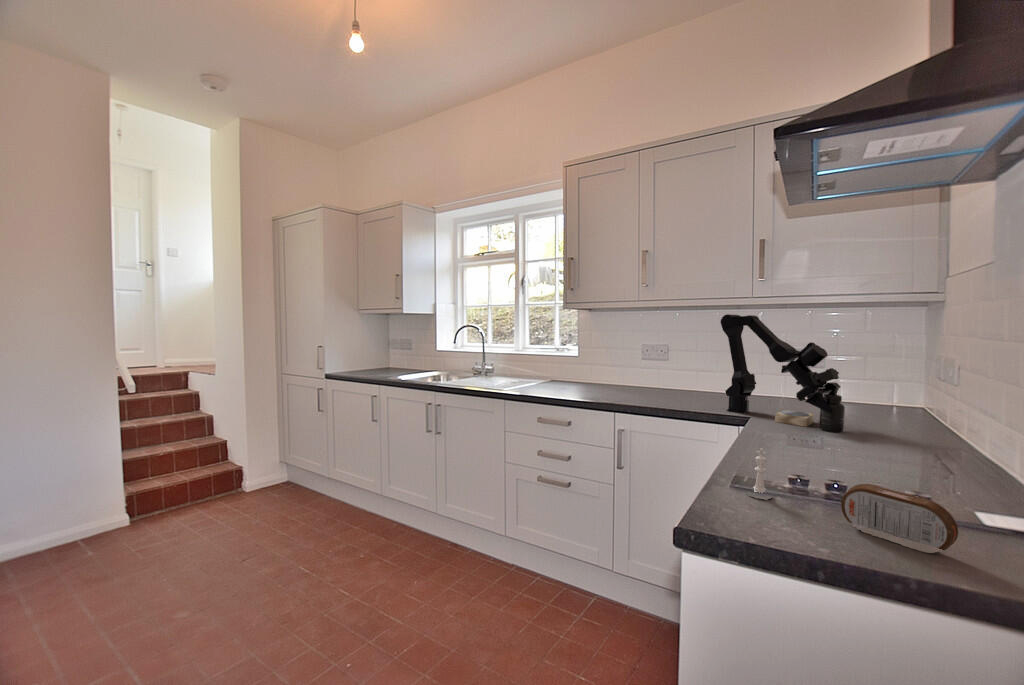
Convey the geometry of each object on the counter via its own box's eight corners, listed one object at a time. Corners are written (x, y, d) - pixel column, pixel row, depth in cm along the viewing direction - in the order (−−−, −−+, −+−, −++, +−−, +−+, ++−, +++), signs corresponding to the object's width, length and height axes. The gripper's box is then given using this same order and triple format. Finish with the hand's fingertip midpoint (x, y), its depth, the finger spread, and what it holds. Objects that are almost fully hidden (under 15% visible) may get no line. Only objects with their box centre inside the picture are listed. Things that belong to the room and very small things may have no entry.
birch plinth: (774, 421, 166) (775, 413, 166) (782, 417, 173) (782, 409, 173) (806, 426, 159) (807, 417, 159) (813, 422, 166) (813, 413, 166)
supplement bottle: (847, 433, 150) (849, 397, 149) (824, 432, 151) (826, 396, 150) (837, 428, 156) (839, 393, 156) (815, 427, 158) (817, 393, 157)
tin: (956, 558, 71) (960, 505, 71) (951, 564, 69) (955, 510, 69) (844, 522, 83) (846, 477, 83) (837, 526, 82) (839, 480, 81)
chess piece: (746, 489, 99) (748, 444, 98) (772, 494, 96) (774, 447, 96) (745, 497, 94) (747, 450, 94) (773, 502, 92) (775, 453, 92)
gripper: (807, 361, 151) (843, 399, 142) (835, 359, 161) (870, 395, 152) (782, 382, 158) (815, 419, 149) (810, 378, 168) (842, 414, 159)
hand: (836, 411), depth 152 cm, fingers closed on supplement bottle, 7 cm apart
